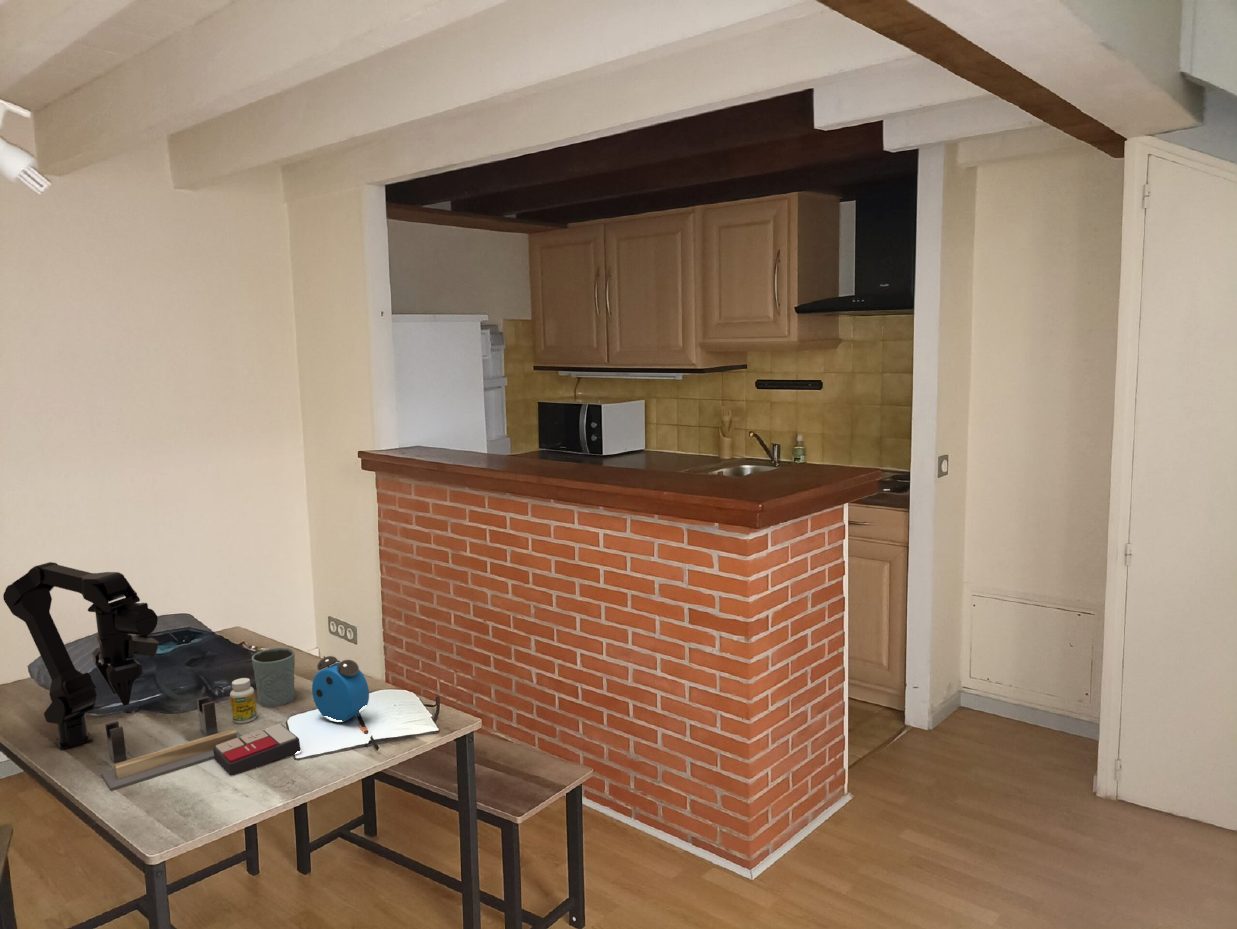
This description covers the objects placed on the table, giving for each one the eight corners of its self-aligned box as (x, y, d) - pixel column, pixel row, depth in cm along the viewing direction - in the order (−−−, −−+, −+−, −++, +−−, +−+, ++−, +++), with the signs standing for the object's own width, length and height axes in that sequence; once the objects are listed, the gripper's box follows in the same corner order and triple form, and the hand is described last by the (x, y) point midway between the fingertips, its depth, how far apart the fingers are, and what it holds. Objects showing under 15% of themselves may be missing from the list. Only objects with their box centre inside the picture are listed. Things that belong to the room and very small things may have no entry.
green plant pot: (269, 691, 234) (264, 647, 232) (306, 692, 232) (302, 647, 231) (248, 708, 224) (243, 661, 222) (286, 709, 223) (282, 662, 221)
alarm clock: (372, 719, 215) (367, 658, 213) (352, 729, 209) (347, 667, 207) (332, 709, 221) (327, 650, 219) (312, 719, 216) (307, 658, 214)
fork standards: (109, 756, 200) (105, 724, 199) (211, 726, 214) (207, 696, 213) (114, 764, 196) (110, 731, 195) (217, 733, 210) (214, 702, 209)
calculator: (211, 744, 197) (280, 720, 206) (214, 763, 197) (283, 738, 207) (228, 761, 188) (299, 735, 198) (231, 780, 189) (301, 753, 199)
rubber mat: (101, 775, 191) (101, 772, 191) (238, 734, 209) (237, 731, 209) (111, 790, 184) (110, 788, 184) (251, 746, 202) (251, 744, 202)
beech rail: (115, 775, 190) (114, 764, 190) (233, 739, 205) (232, 728, 205) (118, 779, 188) (116, 768, 188) (237, 742, 203) (236, 732, 203)
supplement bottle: (254, 712, 221) (250, 675, 220) (259, 720, 217) (255, 681, 215) (230, 718, 218) (226, 680, 217) (235, 726, 214) (231, 687, 212)
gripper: (164, 632, 197) (172, 700, 199) (142, 613, 211) (149, 678, 213) (106, 644, 190) (115, 715, 192) (88, 625, 204) (96, 691, 206)
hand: (121, 699), depth 201 cm, fingers open, 9 cm apart
